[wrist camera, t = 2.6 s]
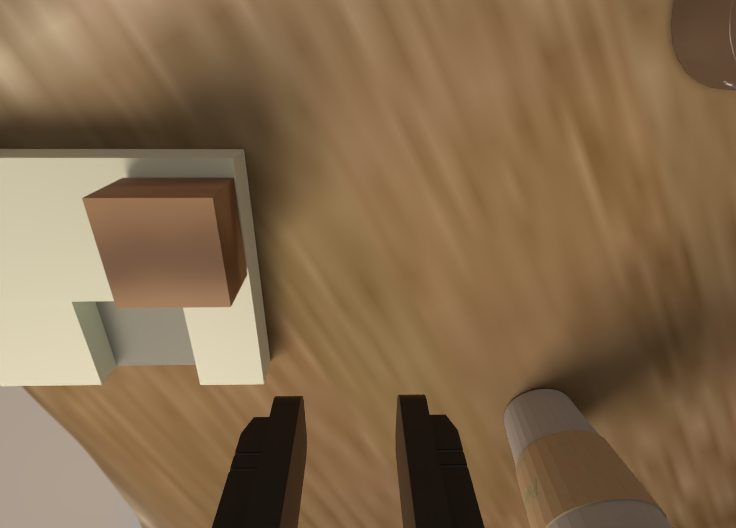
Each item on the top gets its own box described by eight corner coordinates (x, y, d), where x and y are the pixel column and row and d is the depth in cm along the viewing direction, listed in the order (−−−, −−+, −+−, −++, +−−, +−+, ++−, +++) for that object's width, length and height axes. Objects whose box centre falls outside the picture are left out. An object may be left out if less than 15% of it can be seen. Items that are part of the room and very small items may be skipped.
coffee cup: (462, 407, 34) (529, 630, 21) (565, 351, 32) (716, 561, 19) (515, 467, 38) (603, 691, 24) (612, 420, 35) (769, 639, 22)
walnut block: (125, 176, 23) (81, 198, 19) (235, 176, 23) (212, 197, 19) (150, 273, 25) (116, 307, 22) (248, 272, 25) (230, 307, 22)
